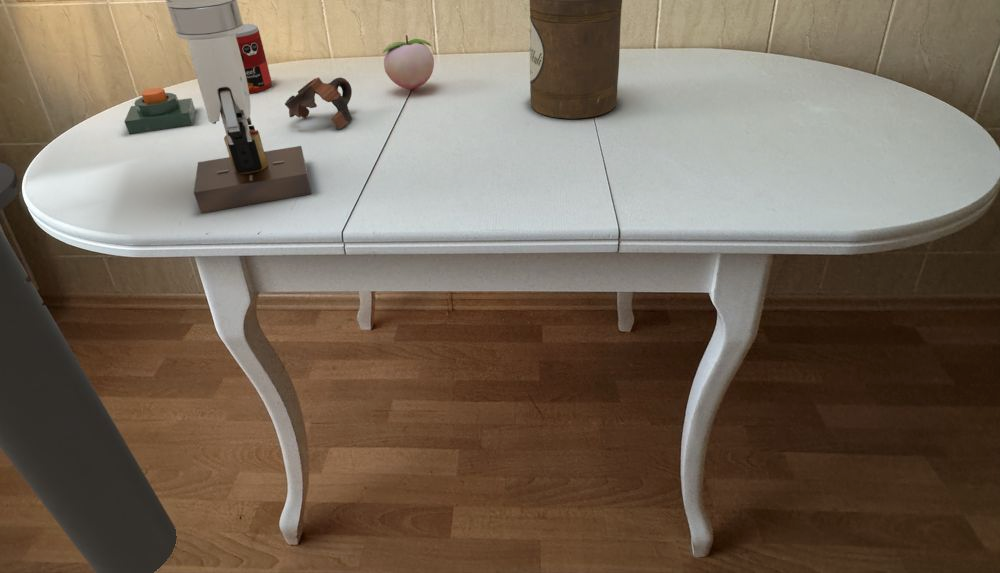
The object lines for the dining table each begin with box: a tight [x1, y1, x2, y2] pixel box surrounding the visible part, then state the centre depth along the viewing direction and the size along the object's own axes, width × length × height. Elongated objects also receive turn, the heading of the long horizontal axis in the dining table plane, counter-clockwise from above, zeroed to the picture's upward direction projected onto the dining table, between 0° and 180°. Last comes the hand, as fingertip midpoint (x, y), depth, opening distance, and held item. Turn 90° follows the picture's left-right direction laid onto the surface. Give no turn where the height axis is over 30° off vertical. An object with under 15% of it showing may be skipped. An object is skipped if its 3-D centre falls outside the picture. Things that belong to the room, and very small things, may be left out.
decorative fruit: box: [382, 34, 435, 92], centre depth 114 cm, size 9×8×10 cm
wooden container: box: [529, 0, 623, 120], centre depth 101 cm, size 15×15×22 cm
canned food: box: [235, 23, 272, 94], centre depth 119 cm, size 8×8×11 cm
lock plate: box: [193, 145, 312, 214], centre depth 85 cm, size 14×10×3 cm
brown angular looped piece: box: [284, 77, 353, 130], centre depth 104 cm, size 12×10×8 cm
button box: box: [124, 92, 196, 135], centre depth 107 cm, size 10×8×4 cm
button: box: [140, 87, 167, 103], centre depth 106 cm, size 4×4×2 cm
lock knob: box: [223, 129, 268, 174], centre depth 82 cm, size 4×4×5 cm
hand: (249, 161), depth 83 cm, fingers closed on lock knob, 4 cm apart
